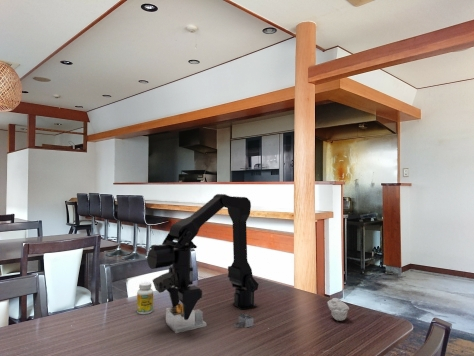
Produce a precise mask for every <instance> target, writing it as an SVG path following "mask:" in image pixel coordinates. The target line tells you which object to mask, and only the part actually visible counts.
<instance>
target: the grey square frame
mask: <svg viewBox="0 0 474 356" xmlns="http://www.w3.org/2000/svg"><path fill="white" fill-rule="evenodd" d="M194 310H195V309H193V310H192V312H191V314H190V316H189V318H188V320H185V319H184V314H183V312H181V313H176V312H177V306H176V307H172V306H171V307H167V308H165V323H166V322H167V323H168V324H169V325H170V326H171V327H172V328H173V329H178V328H182V327H186V326H191V325H195V311H194Z"/></svg>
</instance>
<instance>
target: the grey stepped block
mask: <svg viewBox="0 0 474 356" xmlns="http://www.w3.org/2000/svg"><path fill="white" fill-rule="evenodd" d="M254 319H255V317H253V316H251V315H250V314H248V313H243V314H239V315H238V322H237V323H234V324H233V325H234V328H243V327H244V328H249V327H254V321H255V320H254Z"/></svg>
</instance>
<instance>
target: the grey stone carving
mask: <svg viewBox="0 0 474 356" xmlns="http://www.w3.org/2000/svg"><path fill="white" fill-rule="evenodd" d="M327 307H328V309H329V310H330V311H331V316H332V318H333V319H334V320H336V321H339V322H340V321H341V322H342V321H344V320H346V318H347V316H348V311H349V310H350V307H349V305H347V304H346V303H345V302H343V301H342V300H340V298H337V297H333V298H332V299H329V300H328V301H327Z"/></svg>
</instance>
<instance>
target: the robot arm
mask: <svg viewBox="0 0 474 356" xmlns="http://www.w3.org/2000/svg"><path fill="white" fill-rule="evenodd" d="M251 207H252V201H251V200H250V199H249V198H248V197H245V196H232V195H228V194H226V193H225V194H224V193H223V194H222V193H217V194H215V195H213V197H212V198H211V199H210V200H208V201H207V202H206V203H205V204H204V205H202V206H201V207H200V208H199V209H197V210H196V211H195V212H194V213H192V214H191V215H190V216H188V217H185V218H182V219H180V220H178V221H176V222H174V223H172V225H171V226H170V228H169V231H168V234H167V235H166V236H165V239H163V241H162V243H161V244H152V245H151V246H150V250H149V251H148V254H147V255H146V262H147V265H148V267H149V268H150V269H151V270H155V269H160V268H161V269H162V268H168V267H169V268H168V272H165V273H163V274H160V275H159V276H157V277H155V278H153V279H152V283H153V286H154V289H155V291H157V292H158V294H159V293H160V294H162V293H164V292H165V291H167V292H168V294H169V299H170V301H171V307H176V306H177V304H180V302H181V304H182V305H183V314H184V319H185V320H188V318H189V316H190V314H191V312H192V310H194V308H195V307H196V304H197V303H198V301H200V299H202V298H203V290H202V289H201V288H199V287H198V286H196V285H195V284H194V285H193V281H194V280H191V272H193V271H194V267H193V266H191V265H192V264H191V263H192V262H191V256H192V253H191V252H192V250H193V249H197V248H198V246H197V244H195V243H194V241H193V240H194V239H195V237H196V236H197V235H198V233H199V231H200V228H201V227H202V226H203V225H205V224H206V223H207V222H208V221H209V220H210V219H212V218H213V217H214V216H215V215H216V214H218V212H220V211H221V210H222V209H223V208H226V209H227V213H228V216H229V218H230V219H231V222H232V250H233V253H232V254H233V261H232V263H231V265H229V266H227V272H228V274H227V278H228V279H229V282H230V283H231V287H232V288H235V290H234V291H235V292H234V293H233V302H232V305H234V306H235V307H237V308H238V309H240V310H246V309H252V308H256V307H257V304H255V291H258V287H259V286H260V285H259V283H258V282H257V280H255V278H254V276H253V271H252V267H251V266H250V263H249V262H248V243H247V242H248V239H247V238H248V237H247V234H248V233H247V221H248V219H249V217H250V215H251Z"/></svg>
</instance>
